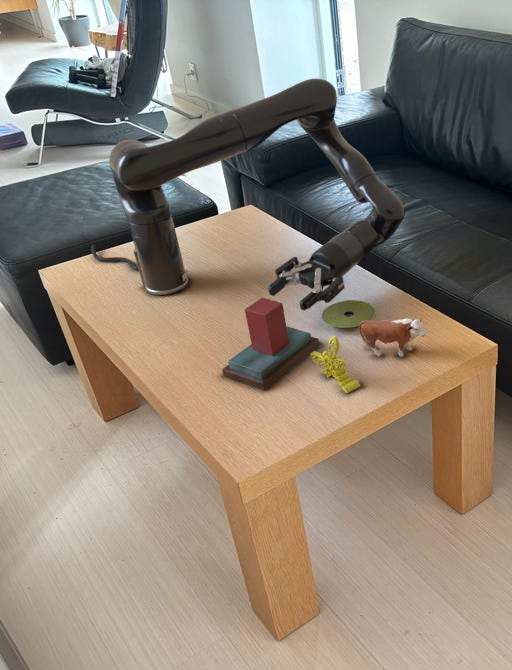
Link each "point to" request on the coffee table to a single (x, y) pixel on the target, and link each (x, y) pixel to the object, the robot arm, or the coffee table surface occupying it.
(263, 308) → the pillar block
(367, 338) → the bull figurine
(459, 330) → the coffee table surface
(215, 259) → the coffee table surface
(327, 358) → the decorative insect
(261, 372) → the blue-grey flat block
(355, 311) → the mat
